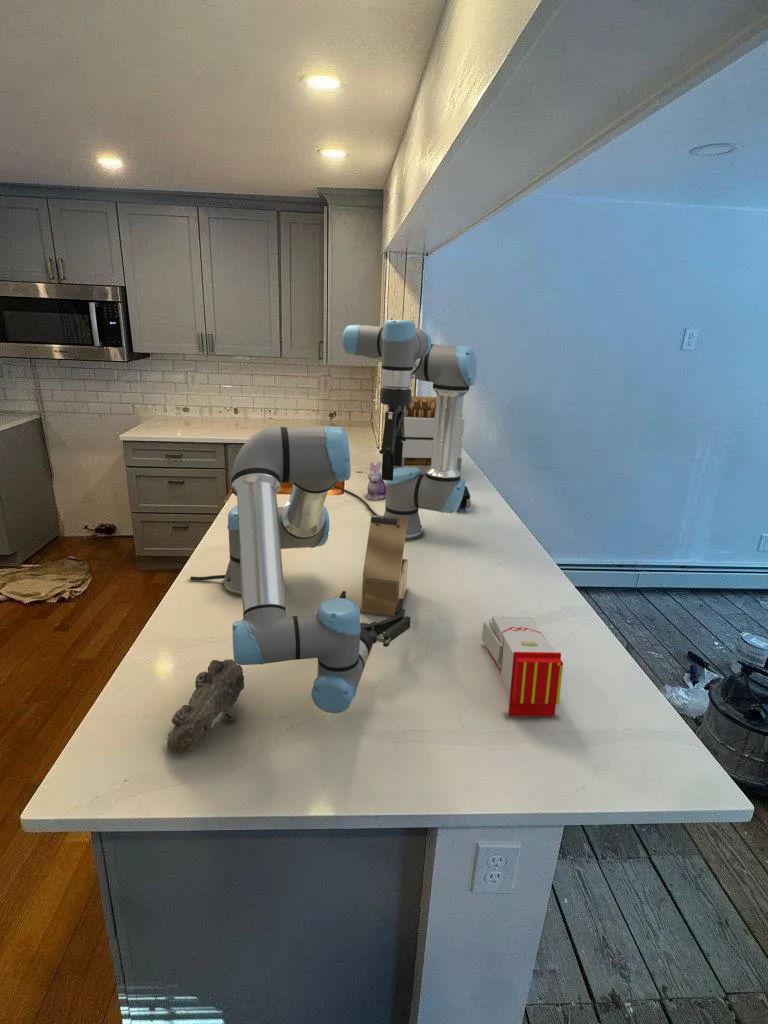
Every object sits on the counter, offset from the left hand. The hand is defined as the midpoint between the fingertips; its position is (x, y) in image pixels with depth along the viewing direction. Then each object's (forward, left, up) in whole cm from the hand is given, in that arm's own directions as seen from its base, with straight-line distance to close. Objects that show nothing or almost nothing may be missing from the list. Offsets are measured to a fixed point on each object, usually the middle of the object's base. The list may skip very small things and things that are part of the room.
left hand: (372, 599), depth 133 cm
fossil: (-24, -35, -10) cm, 43 cm away
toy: (+34, -7, -10) cm, 36 cm away
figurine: (-20, +105, -10) cm, 108 cm away
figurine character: (+15, +103, -10) cm, 104 cm away
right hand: (0, +21, +25) cm, 33 cm away
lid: (0, +16, +6) cm, 17 cm away
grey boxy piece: (-7, +148, -10) cm, 149 cm away
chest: (0, +19, -10) cm, 22 cm away
